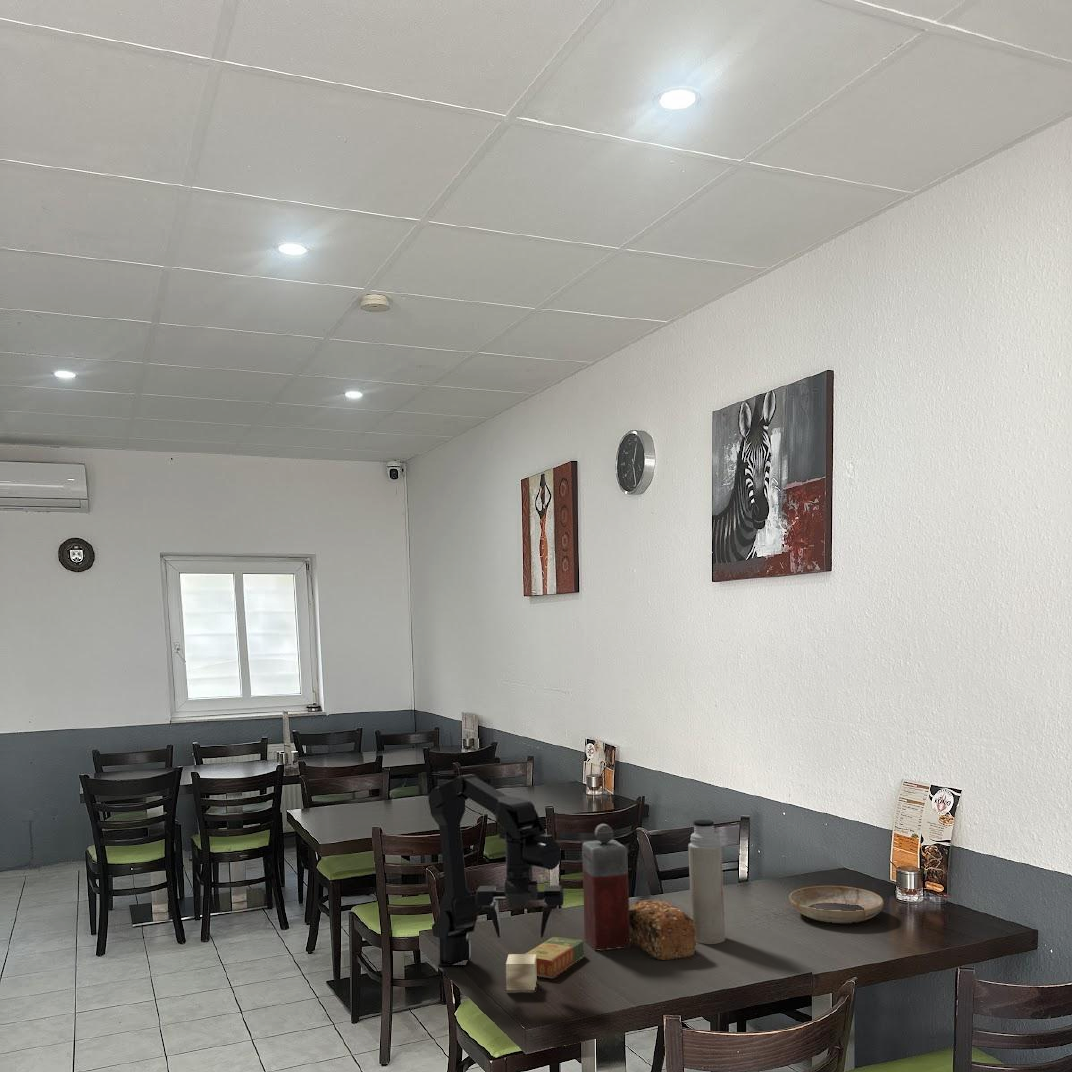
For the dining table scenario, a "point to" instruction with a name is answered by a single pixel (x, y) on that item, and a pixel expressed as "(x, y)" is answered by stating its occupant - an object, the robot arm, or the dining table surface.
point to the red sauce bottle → (605, 891)
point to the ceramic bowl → (836, 894)
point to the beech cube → (521, 972)
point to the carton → (557, 955)
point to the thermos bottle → (706, 883)
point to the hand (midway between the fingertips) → (520, 937)
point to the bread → (662, 929)
